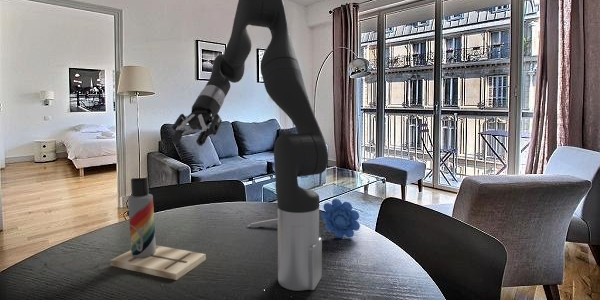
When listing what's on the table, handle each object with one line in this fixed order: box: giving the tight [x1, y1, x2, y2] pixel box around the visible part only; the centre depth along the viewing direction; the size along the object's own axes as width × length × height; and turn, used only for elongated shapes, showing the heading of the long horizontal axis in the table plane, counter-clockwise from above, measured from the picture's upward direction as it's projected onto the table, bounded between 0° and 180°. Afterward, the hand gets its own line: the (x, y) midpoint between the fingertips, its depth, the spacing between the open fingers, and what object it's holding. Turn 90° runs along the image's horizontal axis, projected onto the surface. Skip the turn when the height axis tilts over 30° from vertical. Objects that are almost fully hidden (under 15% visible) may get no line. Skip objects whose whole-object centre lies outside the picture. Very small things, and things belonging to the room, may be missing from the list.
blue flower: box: [320, 198, 361, 239], centre depth 100 cm, size 12×7×12 cm, turn 83°
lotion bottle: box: [127, 177, 157, 258], centre depth 86 cm, size 6×6×20 cm
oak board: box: [110, 244, 207, 281], centre depth 85 cm, size 20×11×2 cm, turn 70°
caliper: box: [246, 217, 278, 229], centre depth 110 cm, size 20×1×6 cm, turn 89°
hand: (186, 143), depth 96 cm, fingers open, 8 cm apart
